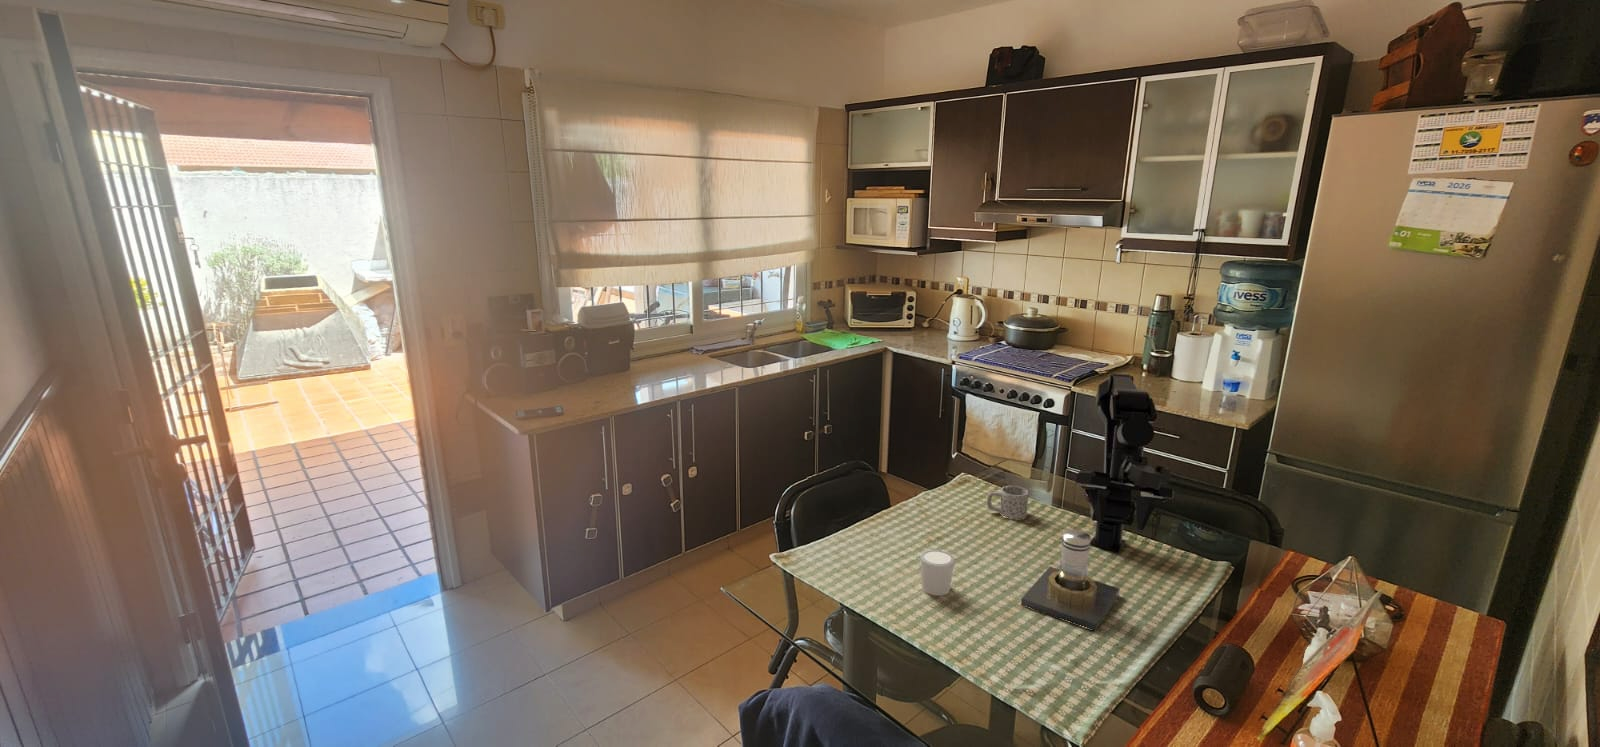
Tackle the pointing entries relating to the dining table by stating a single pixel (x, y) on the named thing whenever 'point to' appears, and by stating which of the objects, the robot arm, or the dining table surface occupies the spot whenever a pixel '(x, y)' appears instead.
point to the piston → (1074, 560)
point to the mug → (1010, 502)
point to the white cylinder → (936, 571)
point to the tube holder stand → (1071, 600)
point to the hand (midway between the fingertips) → (1120, 526)
